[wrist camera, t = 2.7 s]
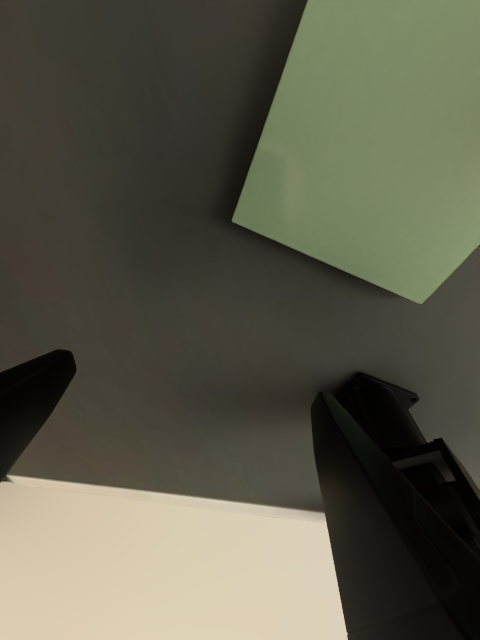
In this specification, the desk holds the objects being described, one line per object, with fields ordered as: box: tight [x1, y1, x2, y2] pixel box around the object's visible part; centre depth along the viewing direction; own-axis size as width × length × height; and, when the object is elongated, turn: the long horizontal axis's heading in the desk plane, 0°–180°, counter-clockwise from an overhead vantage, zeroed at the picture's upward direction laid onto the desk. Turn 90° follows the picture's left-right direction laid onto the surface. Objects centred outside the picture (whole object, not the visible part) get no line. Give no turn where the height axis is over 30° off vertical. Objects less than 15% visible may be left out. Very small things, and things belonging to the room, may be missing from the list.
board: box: [232, 0, 480, 305], centre depth 11 cm, size 14×18×2 cm
